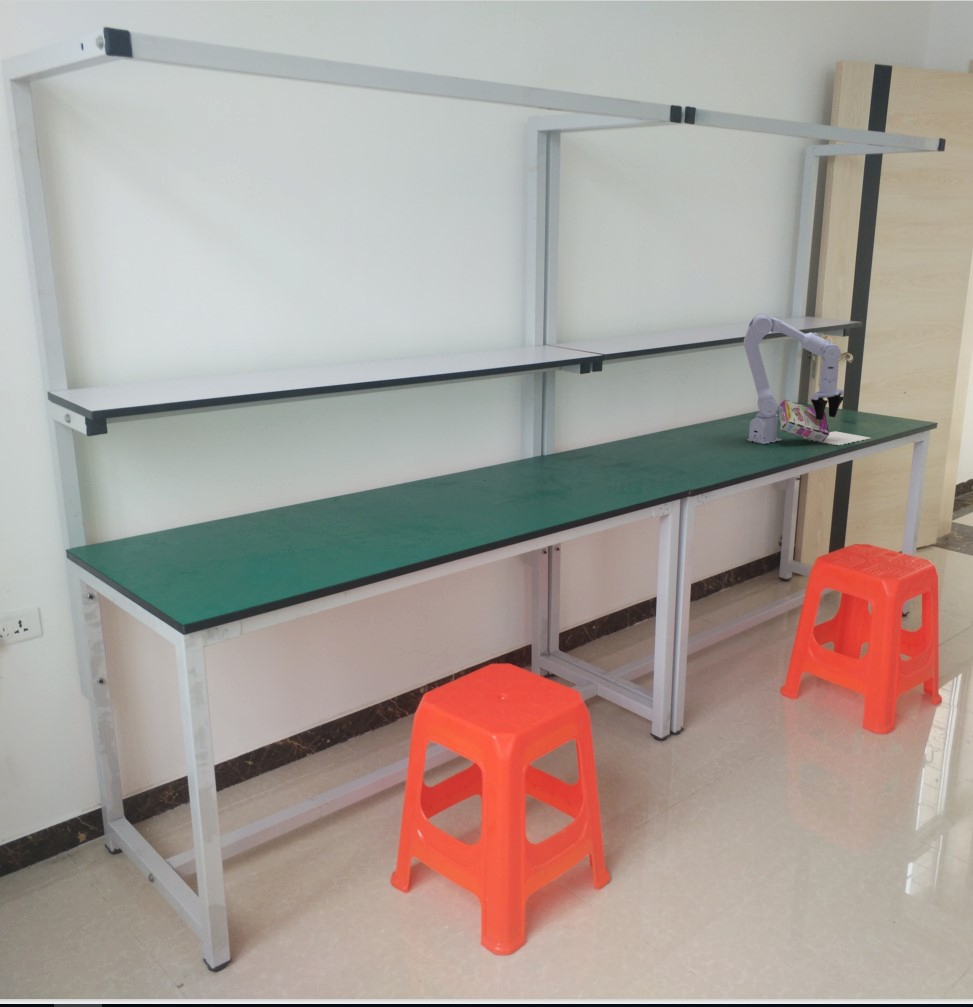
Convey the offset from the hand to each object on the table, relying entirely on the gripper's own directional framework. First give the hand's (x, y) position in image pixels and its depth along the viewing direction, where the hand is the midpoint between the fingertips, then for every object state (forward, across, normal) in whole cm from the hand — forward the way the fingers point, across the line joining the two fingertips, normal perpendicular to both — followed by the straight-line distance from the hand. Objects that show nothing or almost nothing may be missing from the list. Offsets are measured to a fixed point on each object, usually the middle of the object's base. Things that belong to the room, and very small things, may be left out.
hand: (825, 418), depth 337 cm
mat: (+8, +7, 0) cm, 11 cm away
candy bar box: (+3, +1, +1) cm, 4 cm away
